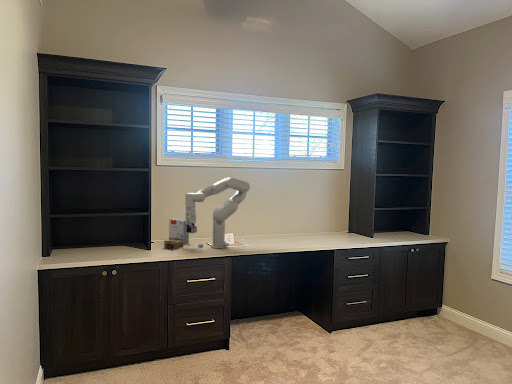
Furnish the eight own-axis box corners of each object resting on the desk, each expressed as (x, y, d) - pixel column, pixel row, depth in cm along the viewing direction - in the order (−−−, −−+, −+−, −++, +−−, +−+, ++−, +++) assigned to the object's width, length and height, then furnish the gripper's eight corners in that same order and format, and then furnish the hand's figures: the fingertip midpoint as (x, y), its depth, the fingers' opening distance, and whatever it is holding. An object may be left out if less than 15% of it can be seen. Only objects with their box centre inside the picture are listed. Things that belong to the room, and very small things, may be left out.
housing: (196, 232, 302) (196, 225, 302) (193, 233, 297) (193, 226, 297) (187, 231, 305) (187, 224, 304) (184, 232, 300) (184, 225, 299)
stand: (183, 246, 306) (183, 238, 306) (175, 249, 295) (175, 241, 294) (172, 245, 309) (172, 237, 309) (164, 248, 298) (164, 240, 297)
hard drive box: (168, 242, 319) (168, 218, 318) (174, 241, 326) (174, 217, 325) (183, 245, 312) (183, 220, 311) (189, 243, 319) (189, 219, 318)
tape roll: (203, 246, 308) (203, 244, 307) (201, 247, 304) (201, 244, 304) (199, 246, 309) (199, 243, 308) (197, 247, 305) (197, 244, 305)
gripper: (189, 210, 290) (189, 233, 292) (199, 207, 306) (200, 229, 308) (180, 209, 292) (181, 233, 294) (191, 207, 309) (191, 229, 310)
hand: (190, 231), depth 301 cm, fingers closed on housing, 5 cm apart
